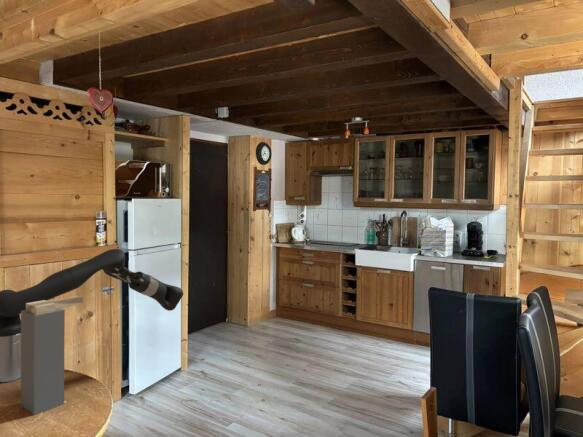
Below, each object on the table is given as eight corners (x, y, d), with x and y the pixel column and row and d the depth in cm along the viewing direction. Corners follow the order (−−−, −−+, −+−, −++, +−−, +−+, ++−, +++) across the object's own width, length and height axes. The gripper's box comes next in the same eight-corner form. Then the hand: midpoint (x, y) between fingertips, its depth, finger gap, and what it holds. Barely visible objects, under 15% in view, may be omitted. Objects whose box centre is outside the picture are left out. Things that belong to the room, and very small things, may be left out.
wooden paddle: (25, 310, 142) (25, 303, 142) (75, 301, 156) (75, 294, 156) (36, 314, 138) (36, 307, 138) (86, 305, 152) (86, 297, 152)
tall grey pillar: (21, 406, 144) (21, 310, 142) (50, 396, 151) (50, 305, 150) (34, 415, 139) (34, 316, 137) (64, 403, 146) (64, 310, 145)
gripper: (137, 273, 181) (106, 257, 169) (159, 277, 173) (128, 261, 161) (129, 290, 178) (97, 275, 166) (151, 295, 170) (119, 280, 158)
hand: (112, 268), depth 163 cm, fingers open, 8 cm apart
